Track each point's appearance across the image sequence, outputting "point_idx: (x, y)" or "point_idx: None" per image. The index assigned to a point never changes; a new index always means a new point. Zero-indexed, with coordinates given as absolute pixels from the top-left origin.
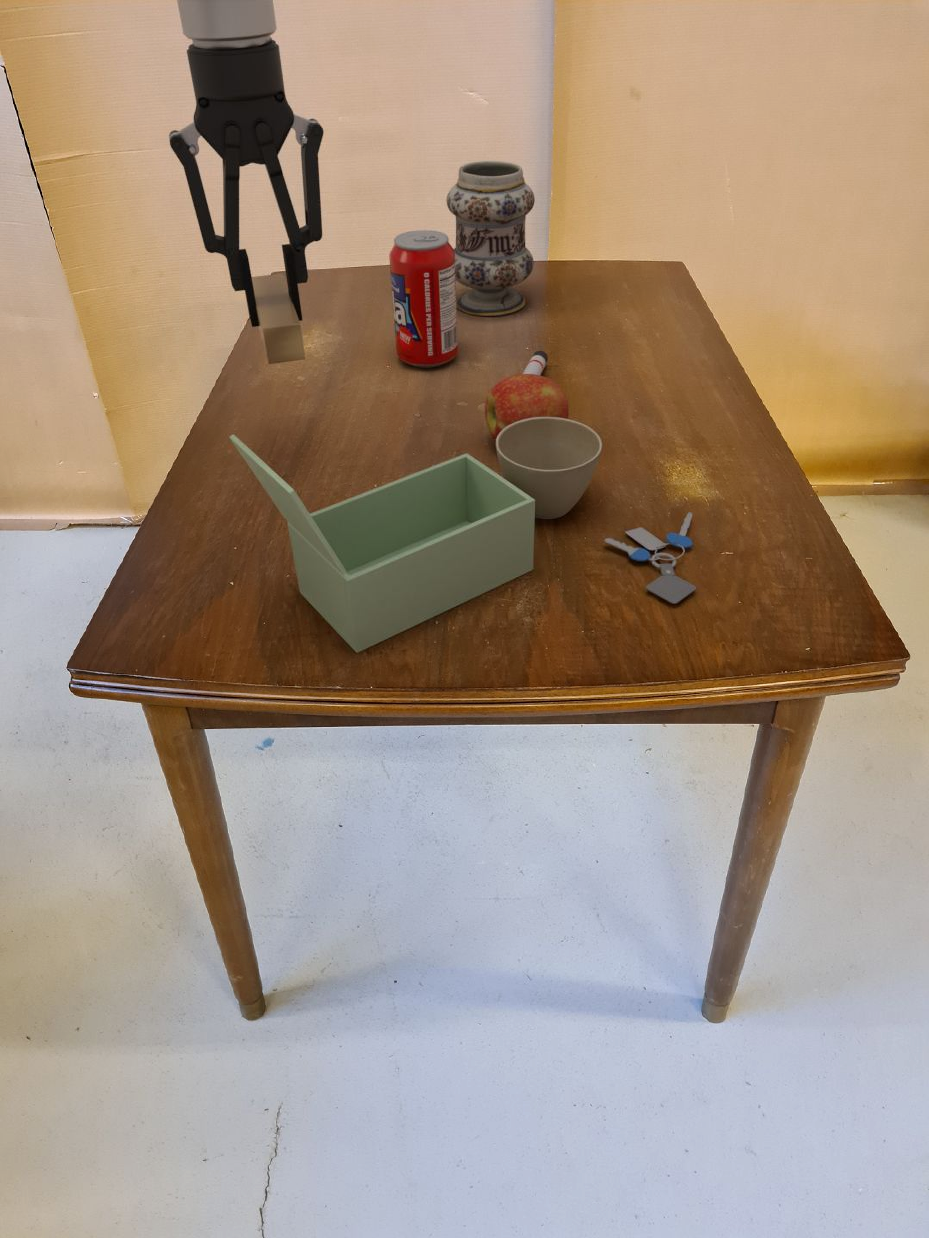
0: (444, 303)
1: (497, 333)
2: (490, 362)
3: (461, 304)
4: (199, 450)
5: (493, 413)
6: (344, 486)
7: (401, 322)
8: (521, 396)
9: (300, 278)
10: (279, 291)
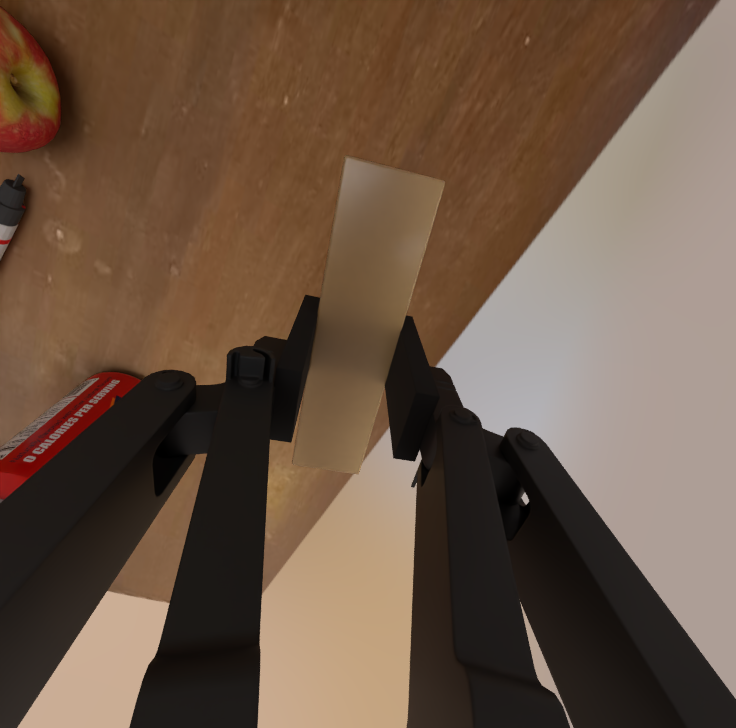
0: (39, 422)
1: (19, 420)
2: (41, 355)
3: None
4: (456, 325)
5: (27, 99)
6: (328, 128)
7: None
8: None
9: (277, 344)
10: (325, 384)
